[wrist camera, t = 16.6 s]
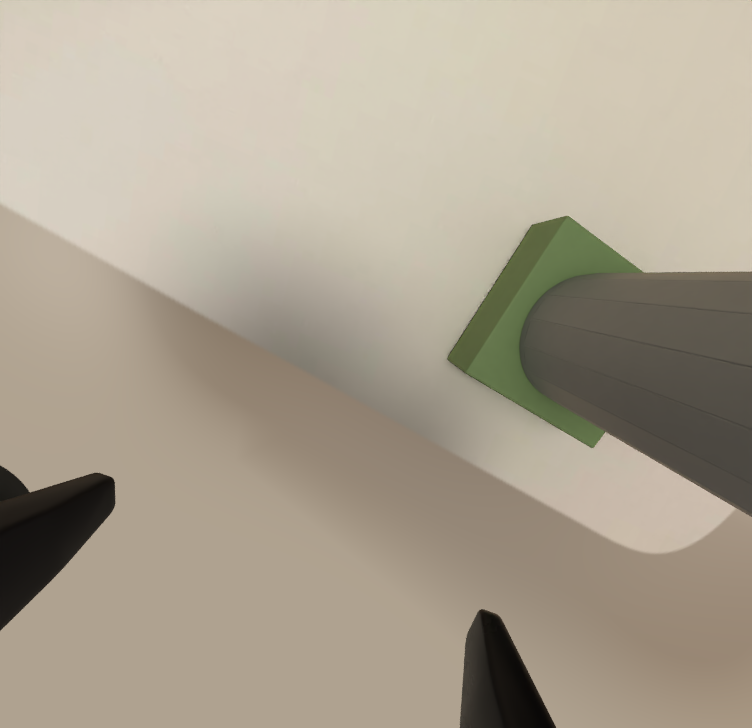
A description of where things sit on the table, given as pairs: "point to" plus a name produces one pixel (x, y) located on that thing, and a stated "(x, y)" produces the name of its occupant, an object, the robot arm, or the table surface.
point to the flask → (655, 367)
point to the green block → (514, 302)
